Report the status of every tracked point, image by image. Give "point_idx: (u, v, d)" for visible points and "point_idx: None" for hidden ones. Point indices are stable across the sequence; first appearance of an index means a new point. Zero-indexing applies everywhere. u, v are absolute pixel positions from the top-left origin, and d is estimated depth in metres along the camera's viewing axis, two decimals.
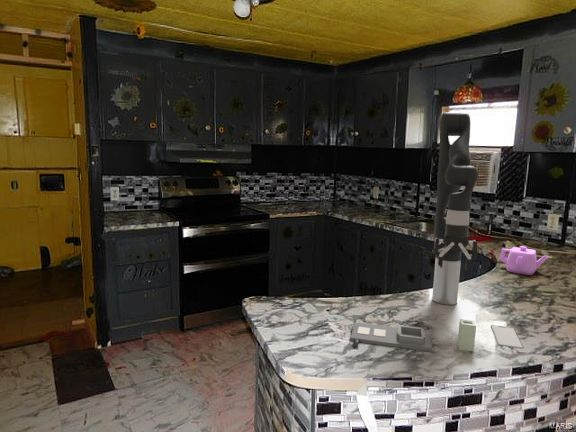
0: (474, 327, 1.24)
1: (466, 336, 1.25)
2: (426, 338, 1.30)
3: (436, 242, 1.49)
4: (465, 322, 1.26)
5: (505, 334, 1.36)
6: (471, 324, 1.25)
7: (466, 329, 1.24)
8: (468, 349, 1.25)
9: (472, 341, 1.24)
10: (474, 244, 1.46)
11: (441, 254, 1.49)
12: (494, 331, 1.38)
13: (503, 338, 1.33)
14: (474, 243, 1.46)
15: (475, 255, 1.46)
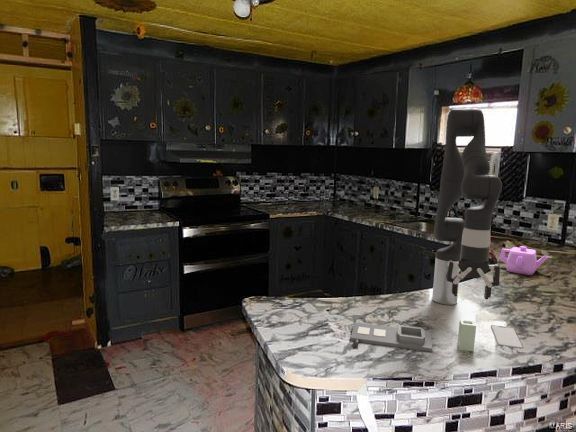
0: (474, 327, 1.24)
1: (466, 336, 1.25)
2: (426, 338, 1.30)
3: (450, 266, 1.24)
4: (465, 322, 1.26)
5: (505, 334, 1.36)
6: (471, 324, 1.25)
7: (466, 329, 1.24)
8: (468, 349, 1.25)
9: (472, 341, 1.24)
10: (496, 269, 1.21)
11: (456, 281, 1.24)
12: (494, 331, 1.38)
13: (503, 338, 1.33)
14: (496, 268, 1.21)
15: (497, 283, 1.21)
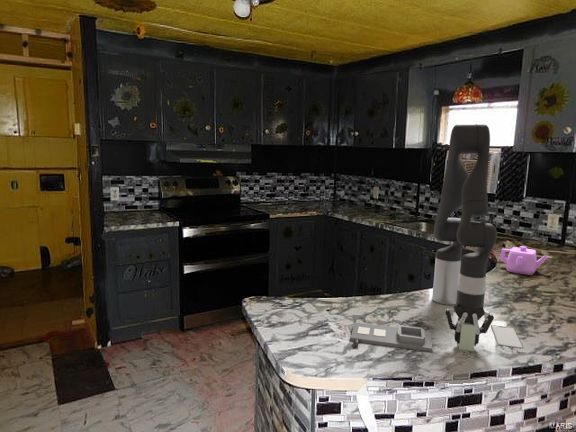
0: (474, 327, 1.24)
1: (466, 335, 1.25)
2: (426, 338, 1.30)
3: (447, 315, 1.26)
4: None
5: (505, 334, 1.36)
6: (471, 324, 1.24)
7: (466, 329, 1.24)
8: (468, 349, 1.25)
9: (472, 341, 1.24)
10: (489, 318, 1.23)
11: (458, 329, 1.26)
12: (494, 331, 1.38)
13: (503, 338, 1.33)
14: (490, 317, 1.23)
15: (484, 330, 1.24)
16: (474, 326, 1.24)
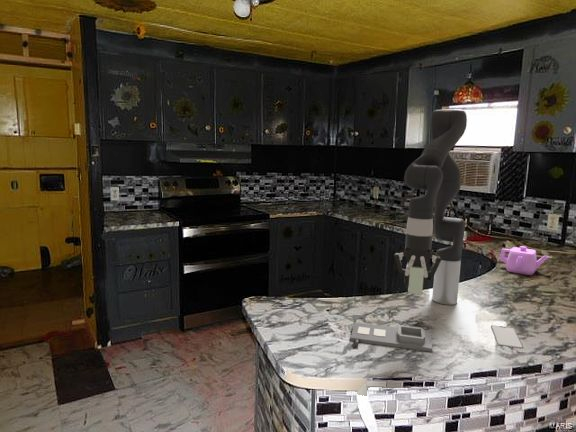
0: (422, 270, 1.25)
1: (415, 279, 1.26)
2: (426, 338, 1.30)
3: (396, 259, 1.27)
4: (414, 266, 1.27)
5: (505, 334, 1.36)
6: (419, 267, 1.26)
7: (414, 272, 1.26)
8: (417, 292, 1.26)
9: (420, 284, 1.26)
10: (437, 261, 1.24)
11: (407, 272, 1.27)
12: (494, 331, 1.38)
13: (503, 338, 1.33)
14: (437, 260, 1.24)
15: (432, 273, 1.25)
16: (422, 269, 1.25)
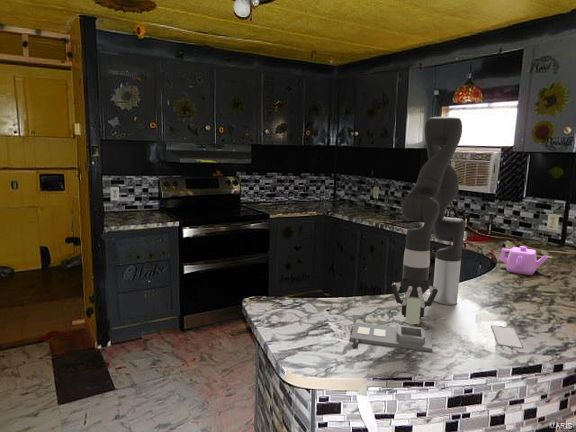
0: (419, 300, 1.26)
1: (412, 309, 1.27)
2: (426, 338, 1.30)
3: (394, 289, 1.29)
4: (411, 296, 1.28)
5: (505, 334, 1.36)
6: (416, 297, 1.27)
7: (411, 302, 1.27)
8: (414, 322, 1.28)
9: (417, 314, 1.27)
10: (434, 292, 1.26)
11: (404, 302, 1.28)
12: (494, 331, 1.38)
13: (503, 338, 1.33)
14: (434, 291, 1.26)
15: (429, 303, 1.27)
16: (419, 299, 1.26)
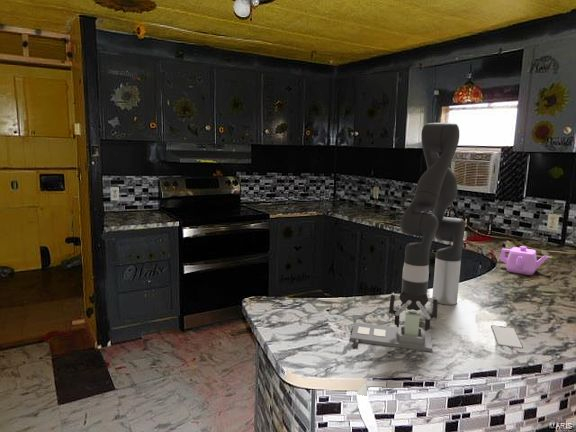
0: (417, 317, 1.27)
1: (410, 325, 1.28)
2: (426, 338, 1.30)
3: (391, 299, 1.29)
4: (410, 312, 1.29)
5: (505, 334, 1.36)
6: (415, 314, 1.28)
7: (410, 319, 1.28)
8: None
9: (416, 330, 1.28)
10: (434, 303, 1.26)
11: (397, 313, 1.30)
12: (494, 331, 1.38)
13: (503, 338, 1.33)
14: (434, 301, 1.26)
15: (435, 315, 1.27)
16: (417, 316, 1.27)
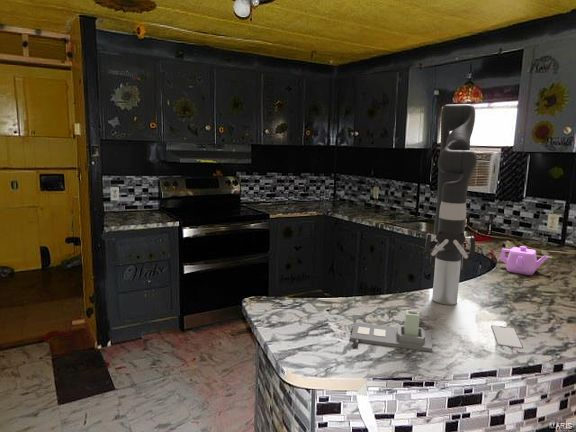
0: (417, 317, 1.27)
1: (410, 325, 1.28)
2: (426, 338, 1.30)
3: (428, 239, 1.29)
4: (410, 312, 1.29)
5: (505, 334, 1.36)
6: (415, 314, 1.28)
7: (410, 319, 1.28)
8: None
9: (416, 330, 1.28)
10: (471, 241, 1.26)
11: (433, 252, 1.30)
12: (494, 331, 1.38)
13: (503, 338, 1.33)
14: (471, 240, 1.26)
15: (473, 254, 1.27)
16: (417, 316, 1.27)
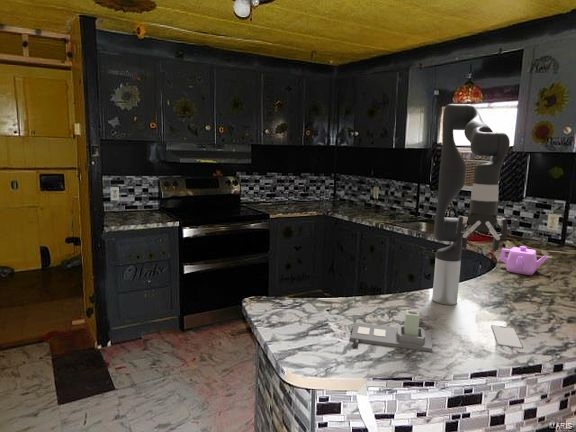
0: (417, 317, 1.27)
1: (410, 325, 1.28)
2: (426, 338, 1.30)
3: (460, 221, 1.30)
4: (410, 312, 1.29)
5: (505, 334, 1.36)
6: (415, 314, 1.28)
7: (410, 319, 1.28)
8: None
9: (416, 330, 1.28)
10: (504, 223, 1.27)
11: (465, 234, 1.31)
12: (494, 331, 1.38)
13: (503, 338, 1.33)
14: (504, 221, 1.27)
15: (505, 235, 1.28)
16: (417, 316, 1.27)
